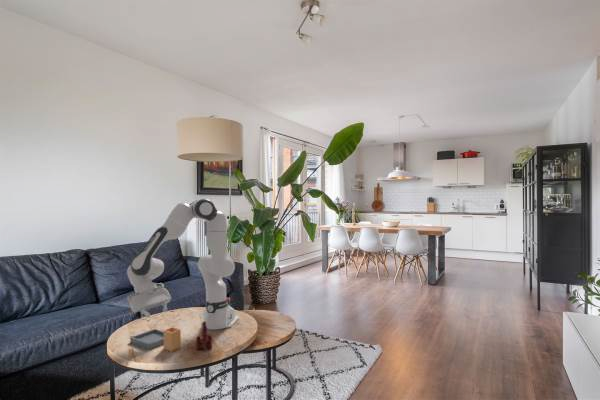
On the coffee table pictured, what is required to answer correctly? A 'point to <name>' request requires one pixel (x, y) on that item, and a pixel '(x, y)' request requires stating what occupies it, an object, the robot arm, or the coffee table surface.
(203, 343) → the toy fire truck
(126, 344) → the coffee table surface
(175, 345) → the box
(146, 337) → the tray
